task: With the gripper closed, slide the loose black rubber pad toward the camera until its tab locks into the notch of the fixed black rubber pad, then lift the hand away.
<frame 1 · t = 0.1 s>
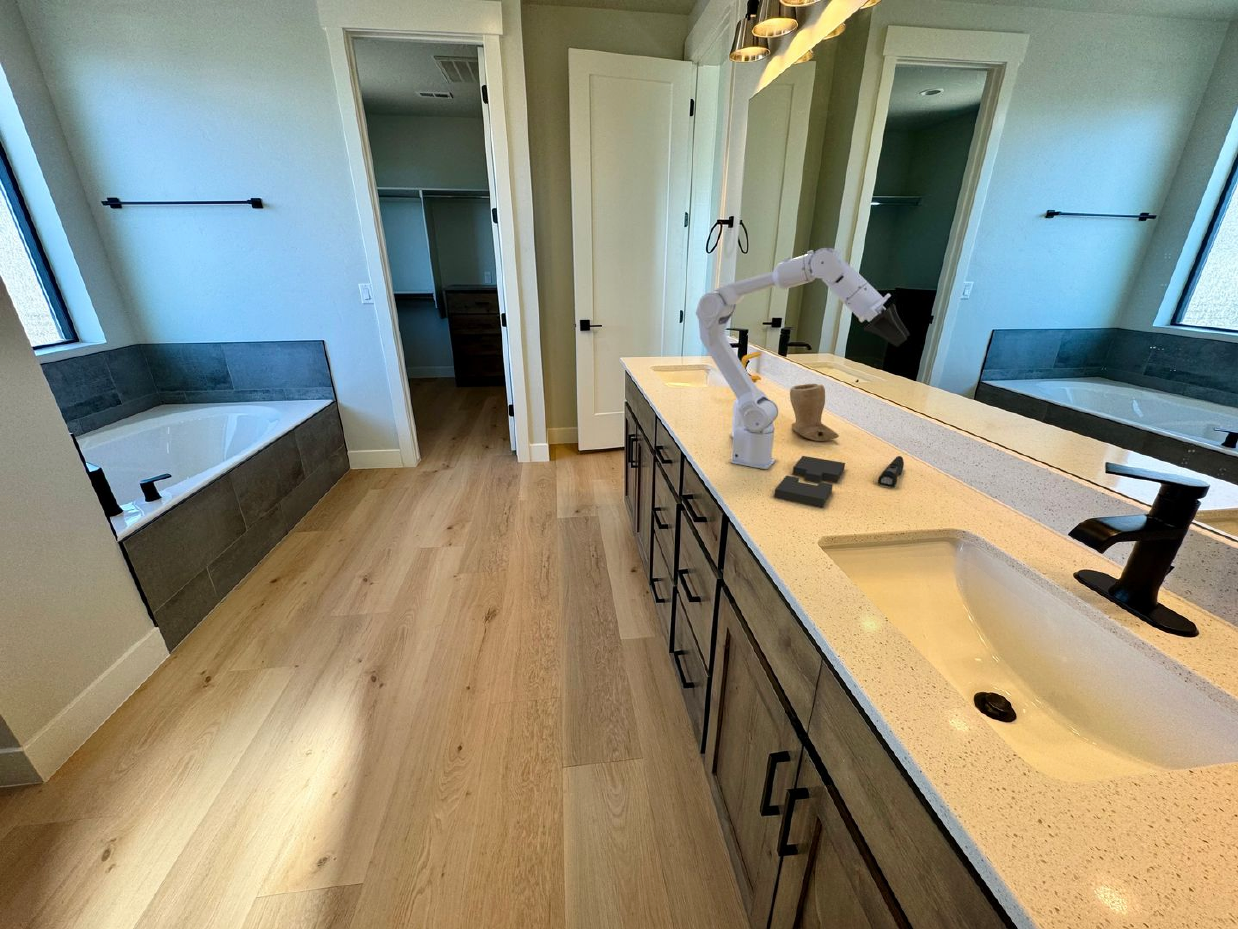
hand: (903, 340, 100), 32 cm above the worktop, tool tilted 50°, fingers open, 7 cm apart
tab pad: (818, 472, 119), on the worktop
soap bottle: (746, 437, 145), on the worktop
brown boot: (808, 435, 146), on the worktop
electric trimmer: (890, 477, 116), on the worktop
notch pad: (803, 494, 107), on the worktop
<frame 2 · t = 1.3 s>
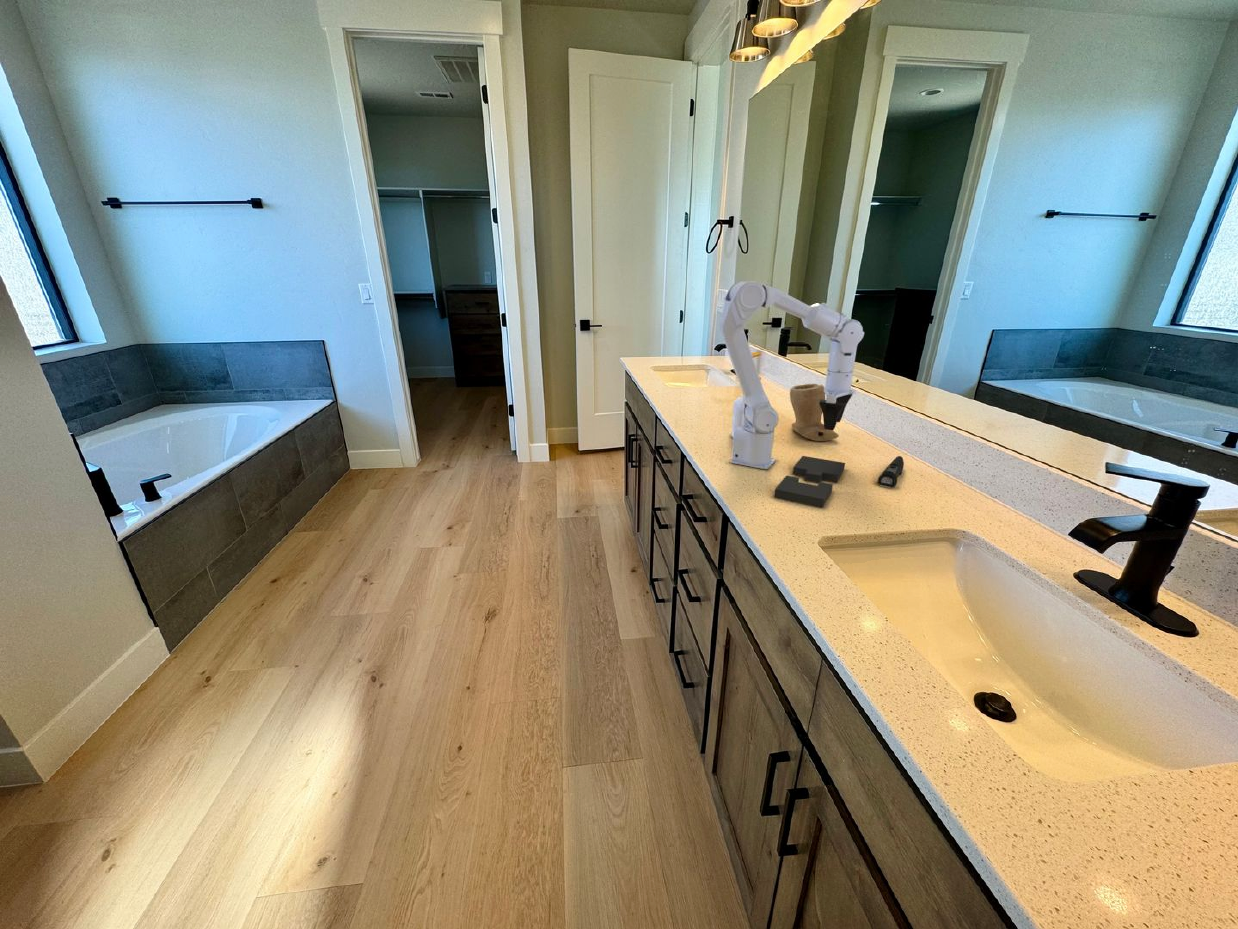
hand: (832, 425, 122), 10 cm above the worktop, tool pointing down, fingers open, 7 cm apart
nothing on the worktop moved.
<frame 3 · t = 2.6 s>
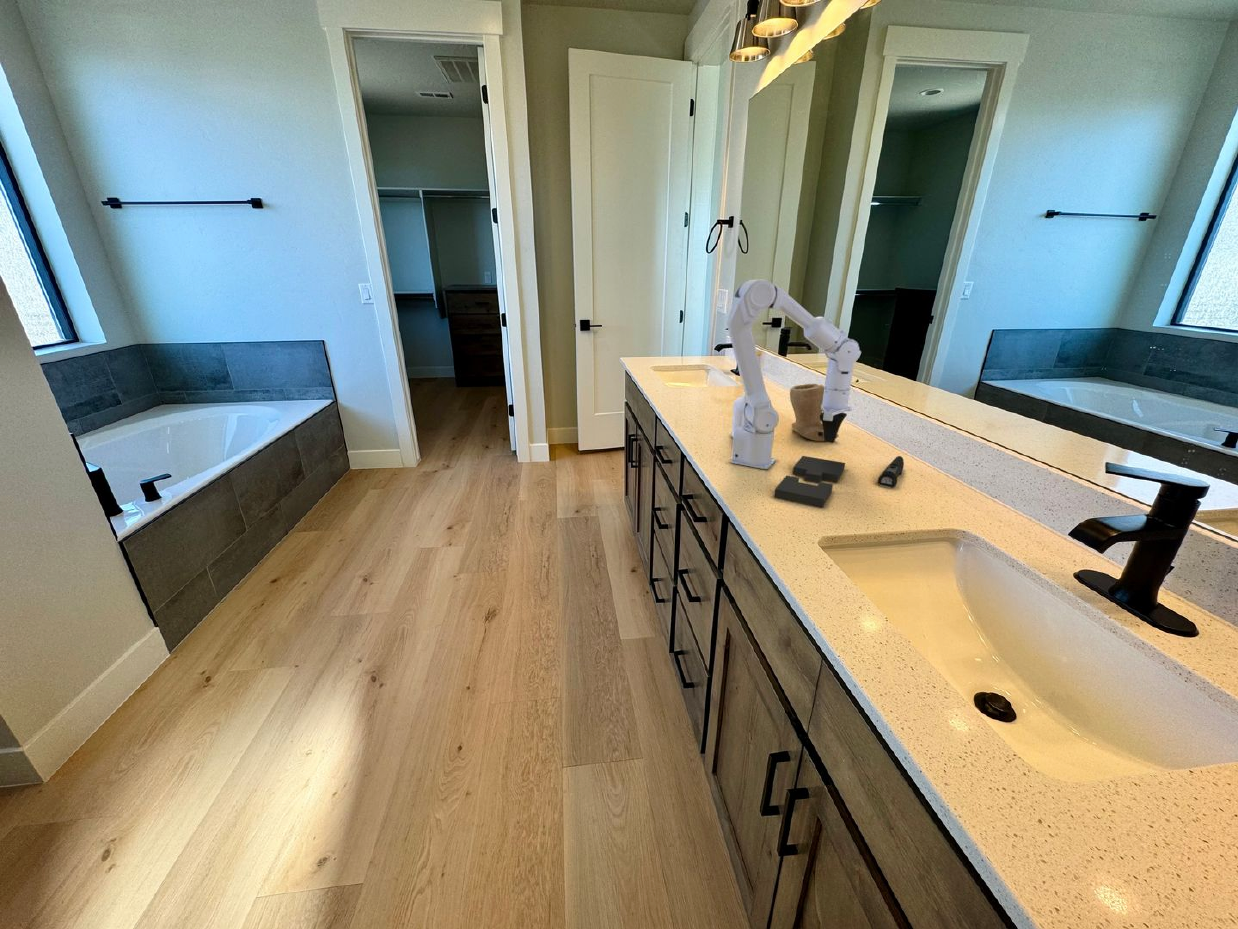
hand: (829, 441, 124), 5 cm above the worktop, tool pointing down, fingers closed
nothing on the worktop moved.
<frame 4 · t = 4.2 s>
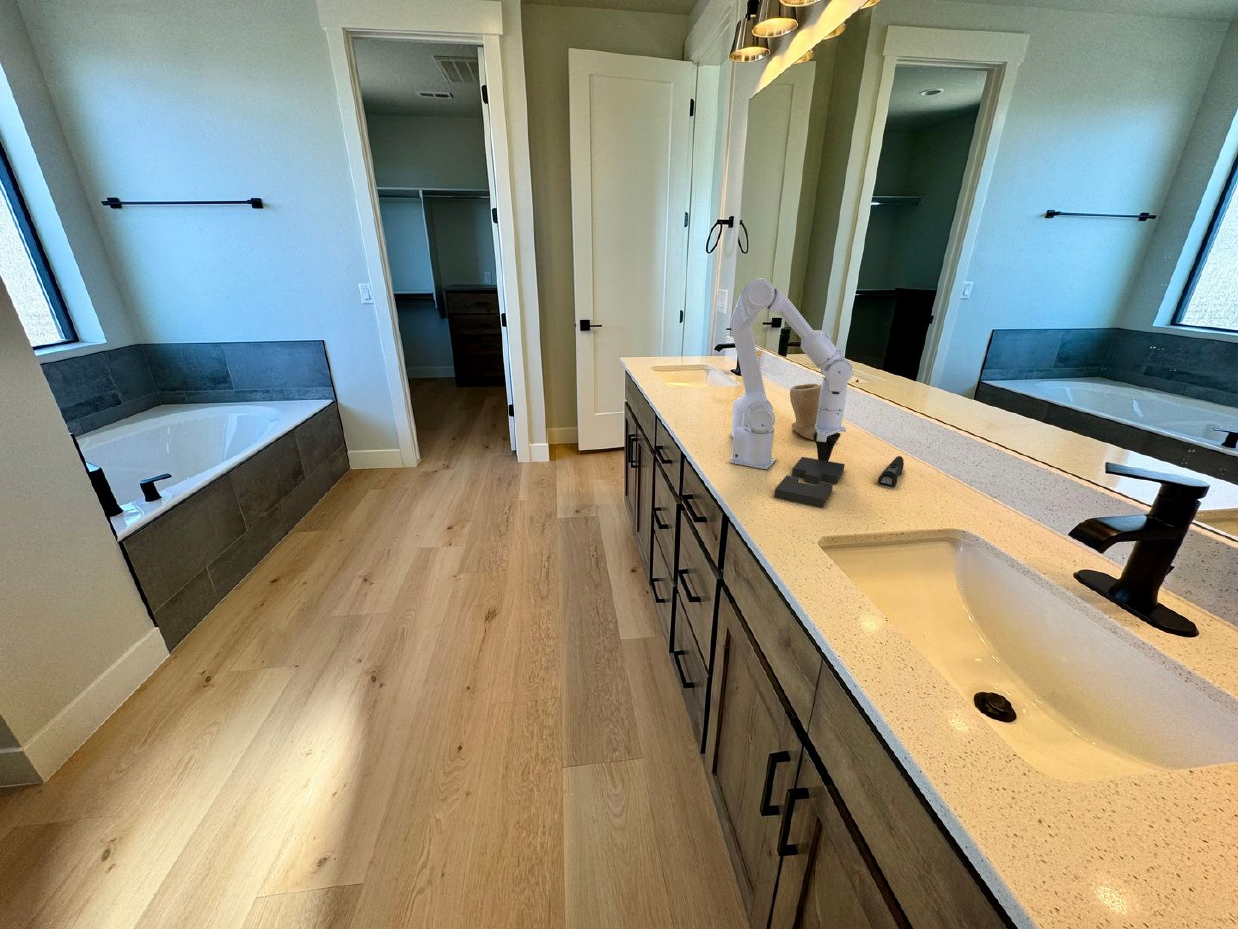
hand: (823, 461, 122), 1 cm above the worktop, tool pointing down, fingers closed
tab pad: (817, 473, 118), on the worktop, touching gripper
everything else where it was.
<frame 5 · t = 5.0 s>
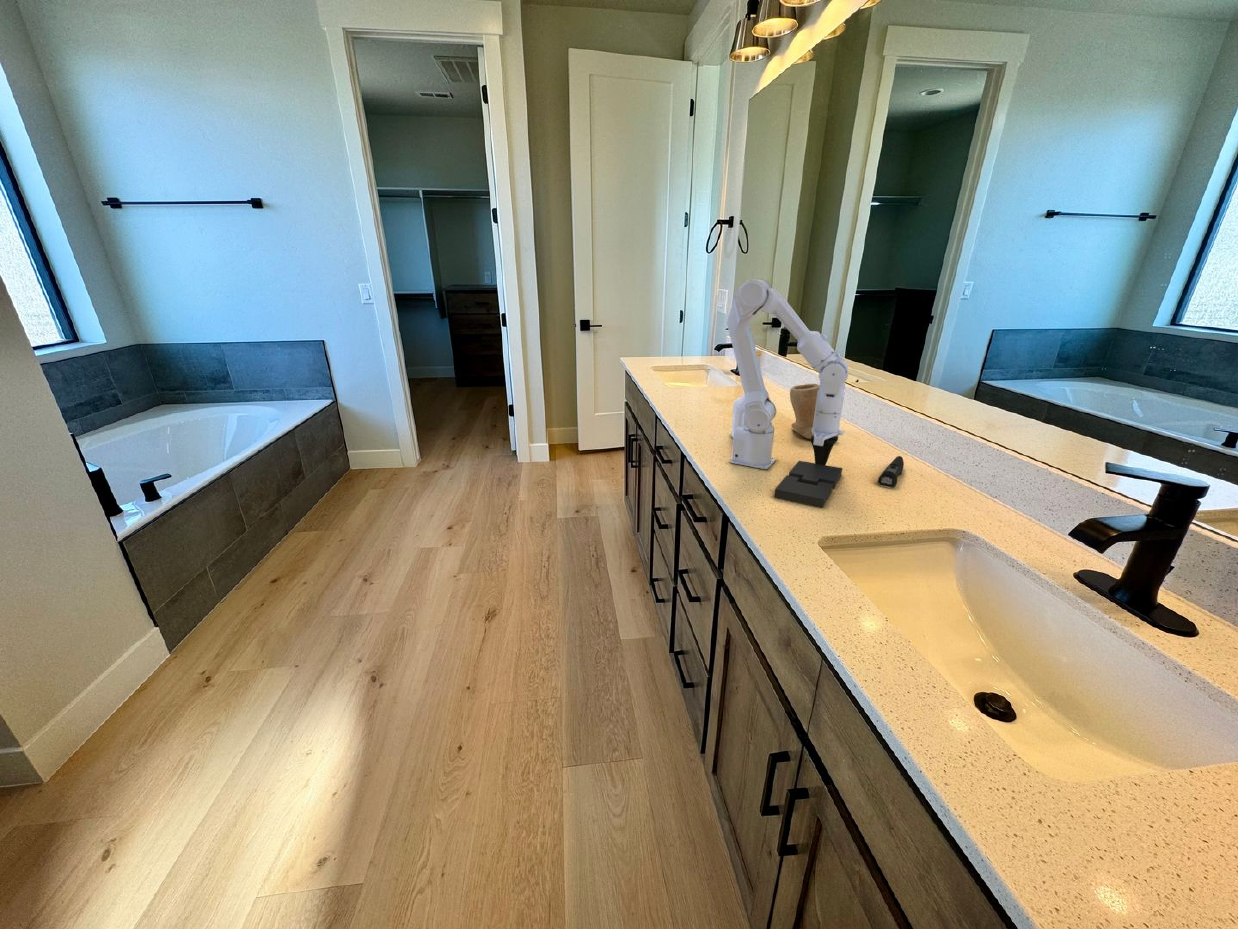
hand: (820, 465, 119), 1 cm above the worktop, tool pointing down, fingers closed
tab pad: (814, 478, 115), on the worktop, touching gripper
everything else where it was.
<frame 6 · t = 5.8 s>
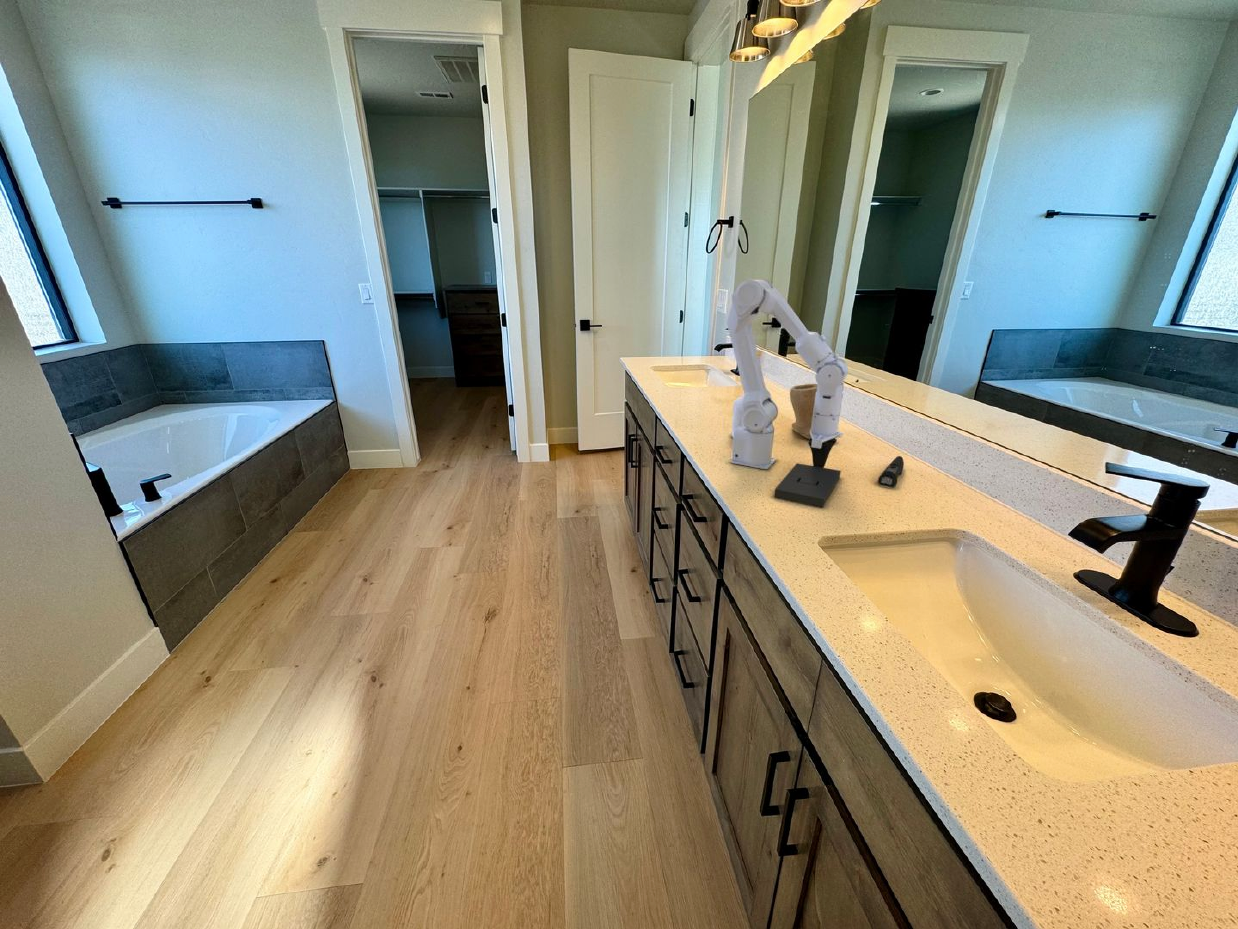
hand: (818, 468, 118), 1 cm above the worktop, tool pointing down, fingers closed
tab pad: (812, 481, 114), on the worktop, touching gripper, notch pad
everything else where it was.
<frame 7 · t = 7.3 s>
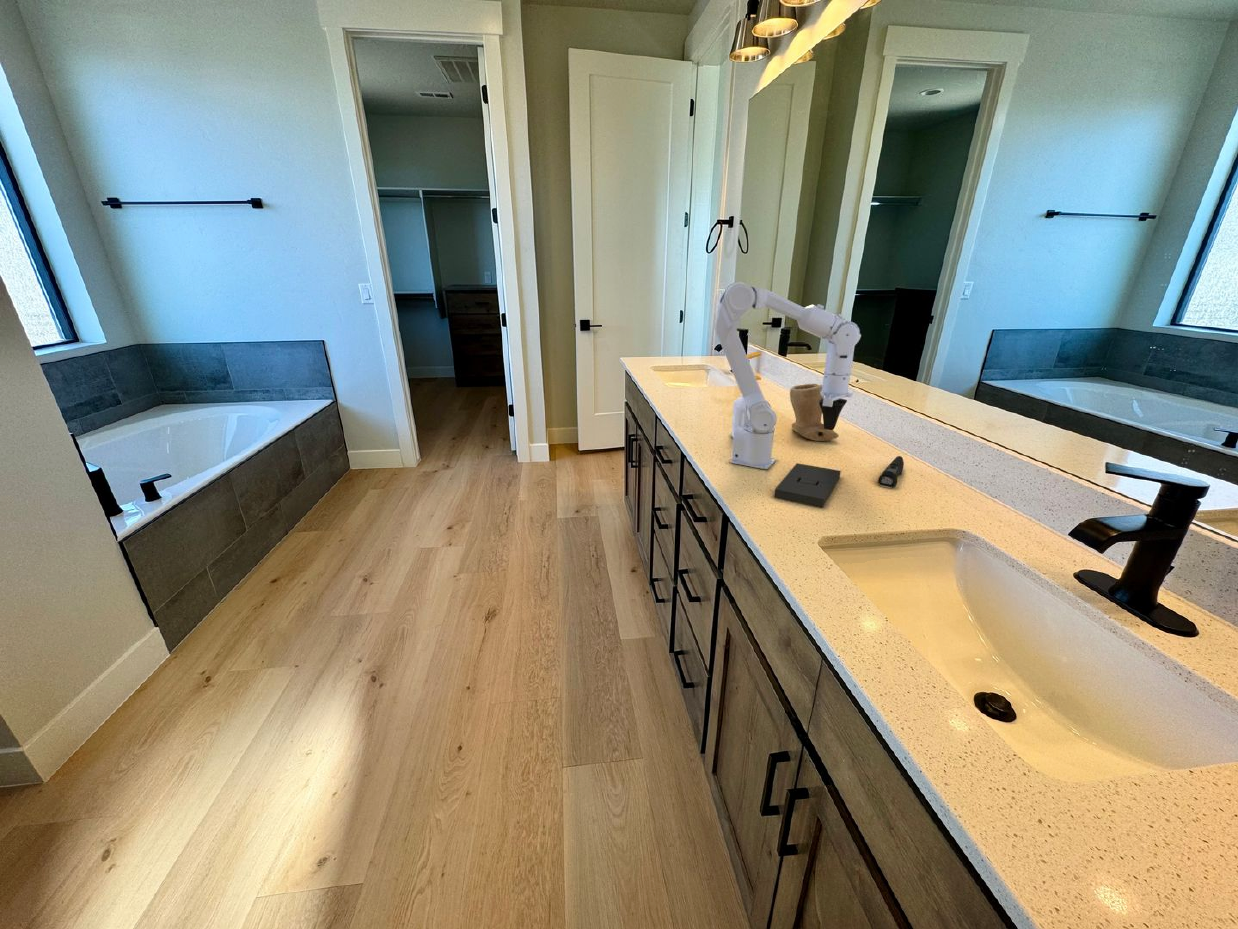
hand: (829, 428, 120), 9 cm above the worktop, tool pointing down, fingers closed
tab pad: (812, 481, 114), on the worktop, touching notch pad
everything else where it was.
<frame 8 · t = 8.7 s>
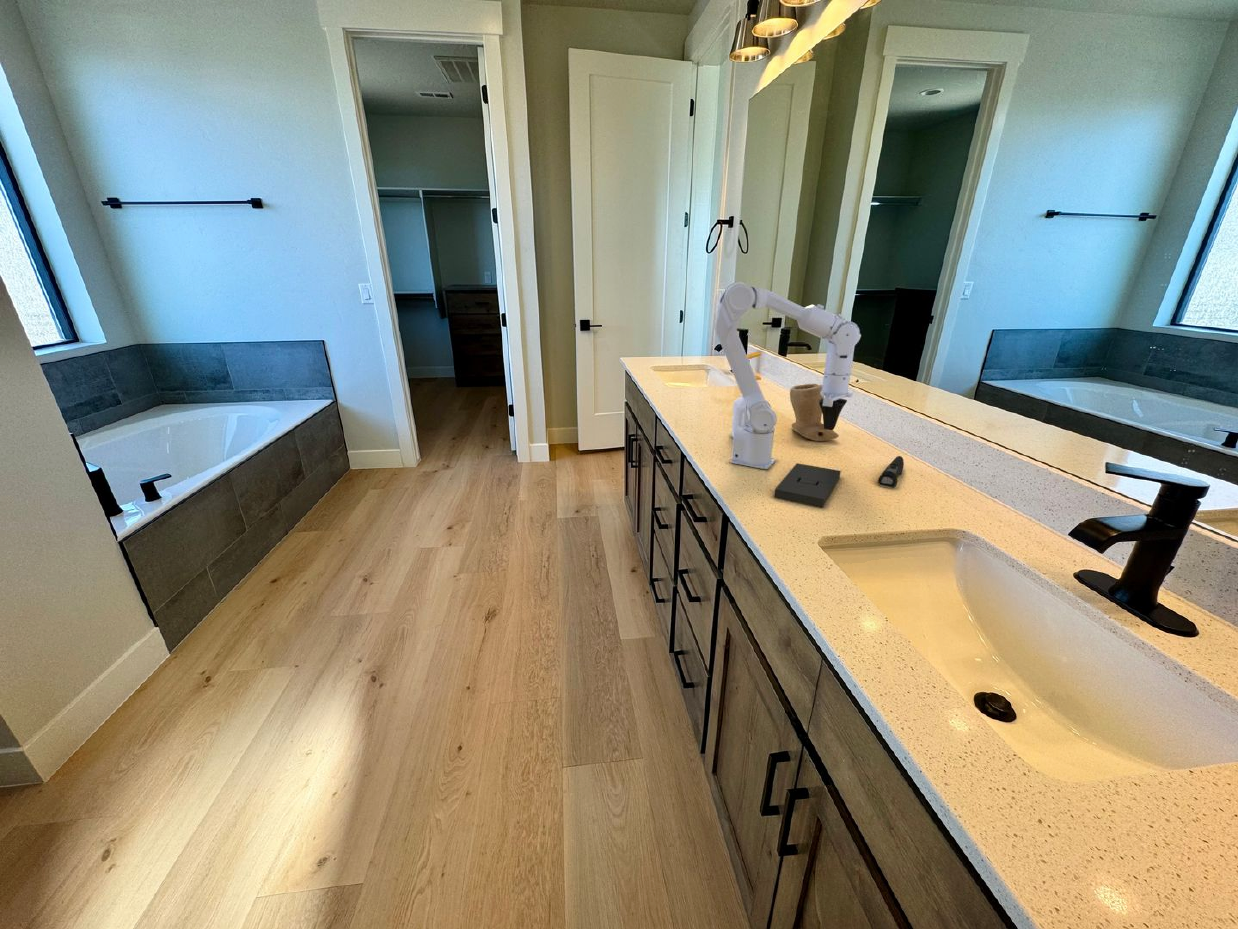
hand: (829, 428, 120), 9 cm above the worktop, tool pointing down, fingers closed
nothing on the worktop moved.
at the end: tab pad 0.1 cm from the target spot on the worktop beside the notch pad, on the worktop; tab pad tilted 0°; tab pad touching notch pad, worktop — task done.
